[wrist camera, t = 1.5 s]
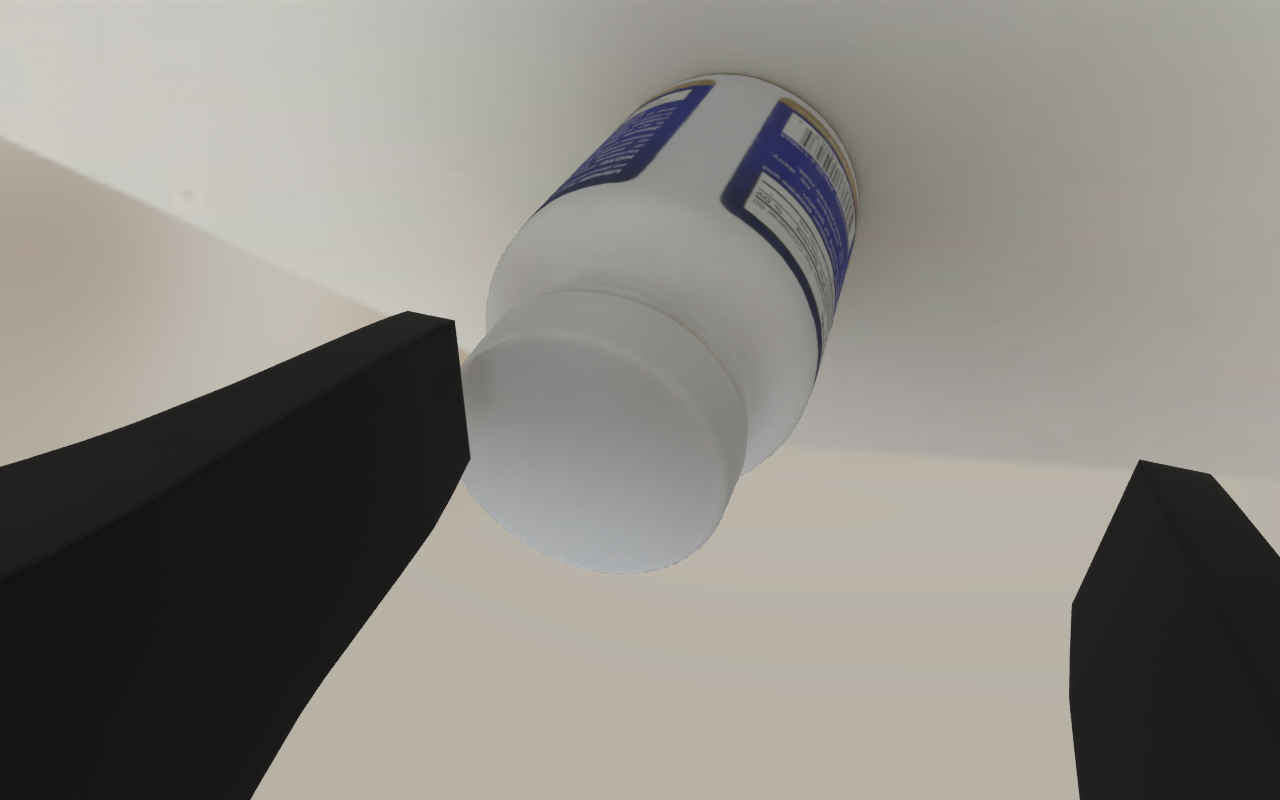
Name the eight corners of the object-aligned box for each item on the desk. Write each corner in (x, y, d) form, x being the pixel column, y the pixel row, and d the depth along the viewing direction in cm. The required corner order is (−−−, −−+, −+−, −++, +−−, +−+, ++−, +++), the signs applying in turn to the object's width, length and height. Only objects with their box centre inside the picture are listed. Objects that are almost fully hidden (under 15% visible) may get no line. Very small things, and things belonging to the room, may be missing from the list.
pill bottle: (606, 283, 21) (408, 547, 14) (619, 48, 17) (369, 241, 11) (835, 336, 19) (743, 652, 13) (893, 96, 16) (813, 345, 10)
